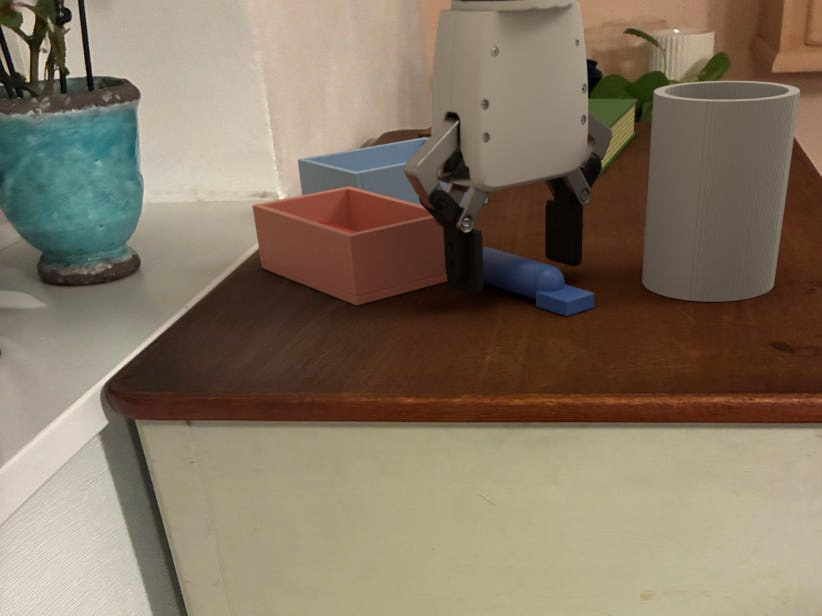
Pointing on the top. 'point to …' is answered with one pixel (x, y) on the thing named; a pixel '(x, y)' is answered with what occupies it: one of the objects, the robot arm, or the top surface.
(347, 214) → the red bin
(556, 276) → the blue capsule with block
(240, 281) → the top surface
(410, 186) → the blue bin
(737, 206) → the cup
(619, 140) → the hardcover book
